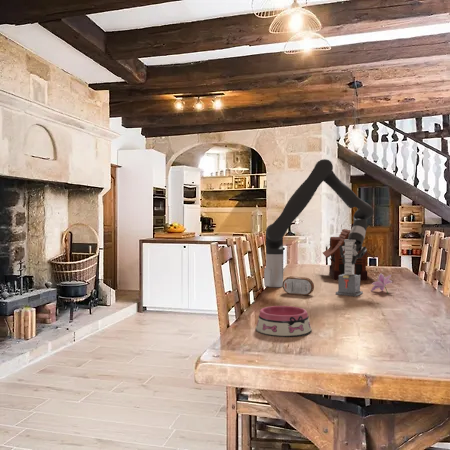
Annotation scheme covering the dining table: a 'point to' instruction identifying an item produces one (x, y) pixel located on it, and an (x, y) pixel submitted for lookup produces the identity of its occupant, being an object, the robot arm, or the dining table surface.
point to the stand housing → (349, 285)
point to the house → (336, 259)
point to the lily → (381, 282)
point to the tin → (298, 285)
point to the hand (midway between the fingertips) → (348, 263)
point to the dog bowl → (283, 321)
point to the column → (349, 256)
